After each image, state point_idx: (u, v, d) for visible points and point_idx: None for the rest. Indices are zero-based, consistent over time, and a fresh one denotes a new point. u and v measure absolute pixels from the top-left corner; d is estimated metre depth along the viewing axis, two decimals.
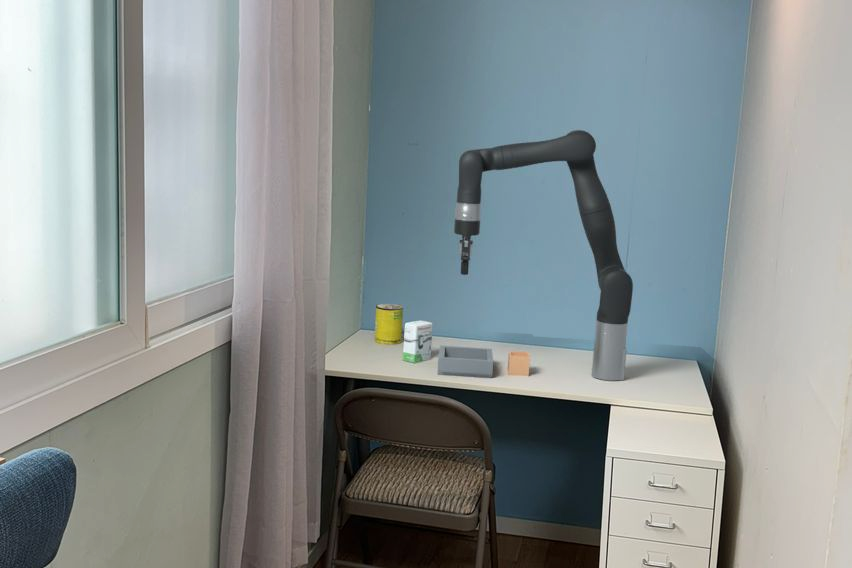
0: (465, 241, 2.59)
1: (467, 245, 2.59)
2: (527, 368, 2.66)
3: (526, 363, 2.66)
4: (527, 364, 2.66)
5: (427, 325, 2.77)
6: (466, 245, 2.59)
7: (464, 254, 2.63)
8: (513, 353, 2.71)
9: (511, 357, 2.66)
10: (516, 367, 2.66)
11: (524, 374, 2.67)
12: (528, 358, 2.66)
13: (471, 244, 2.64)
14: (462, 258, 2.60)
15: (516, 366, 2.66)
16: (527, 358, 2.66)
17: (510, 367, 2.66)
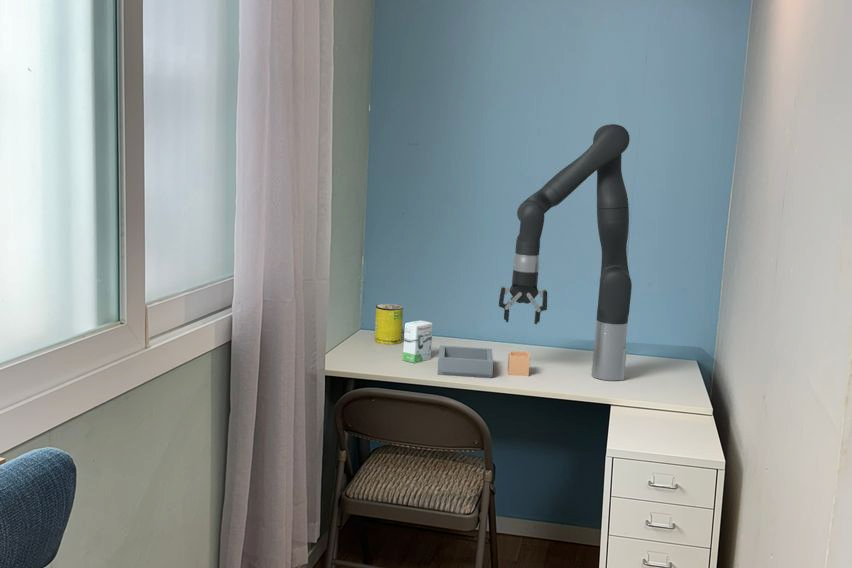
0: (546, 291, 2.65)
1: None
2: (527, 368, 2.66)
3: (526, 363, 2.66)
4: (527, 364, 2.66)
5: (427, 325, 2.77)
6: None
7: None
8: (513, 353, 2.71)
9: (511, 357, 2.66)
10: (516, 367, 2.66)
11: (524, 374, 2.67)
12: (528, 358, 2.66)
13: None
14: None
15: (516, 366, 2.66)
16: (527, 358, 2.66)
17: (510, 367, 2.66)
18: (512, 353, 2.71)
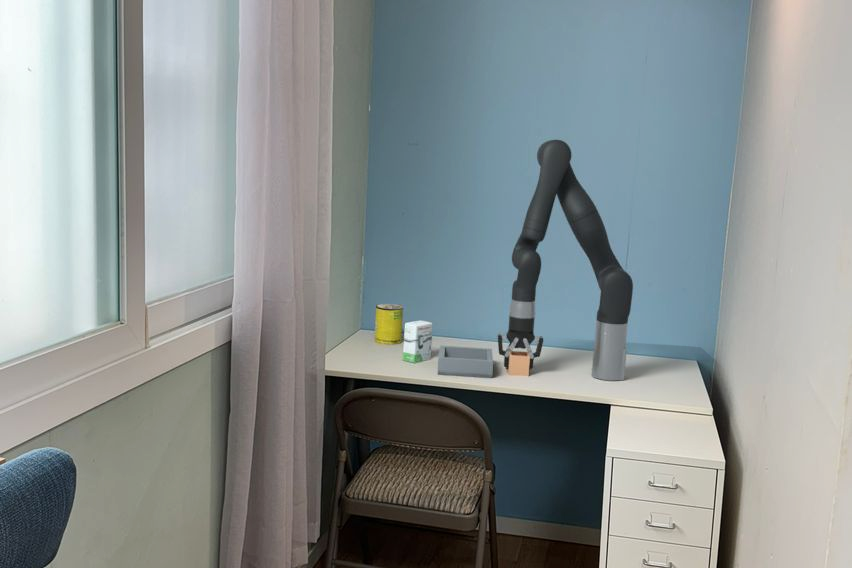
0: None
1: None
2: (527, 368, 2.66)
3: (526, 363, 2.66)
4: (527, 364, 2.66)
5: (427, 325, 2.77)
6: None
7: None
8: (513, 353, 2.71)
9: (511, 357, 2.66)
10: (516, 367, 2.66)
11: (524, 374, 2.67)
12: (528, 358, 2.66)
13: None
14: None
15: (516, 365, 2.66)
16: (527, 358, 2.66)
17: (510, 367, 2.66)
18: (512, 353, 2.71)
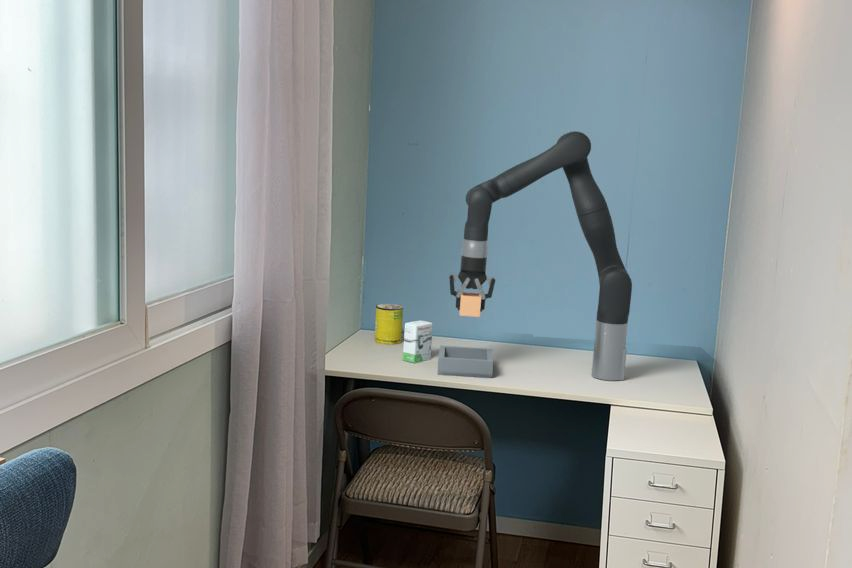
0: None
1: None
2: (478, 308, 2.64)
3: (477, 303, 2.64)
4: (478, 304, 2.64)
5: (427, 325, 2.77)
6: None
7: None
8: (465, 294, 2.69)
9: (462, 297, 2.64)
10: (467, 307, 2.64)
11: (475, 314, 2.64)
12: (479, 298, 2.64)
13: None
14: (491, 295, 2.66)
15: (467, 306, 2.64)
16: (478, 298, 2.64)
17: (461, 307, 2.64)
18: (464, 294, 2.69)
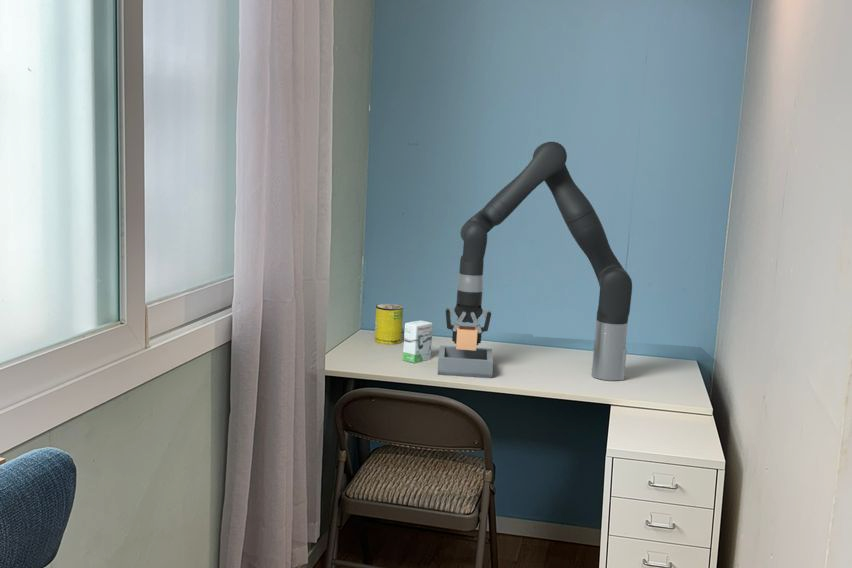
0: (490, 313, 2.67)
1: None
2: (475, 342, 2.66)
3: (474, 337, 2.66)
4: (474, 338, 2.66)
5: (427, 325, 2.77)
6: None
7: None
8: (462, 327, 2.71)
9: (459, 331, 2.65)
10: (464, 341, 2.66)
11: (472, 348, 2.66)
12: (476, 332, 2.65)
13: None
14: (487, 329, 2.67)
15: (463, 339, 2.66)
16: (475, 332, 2.65)
17: (458, 341, 2.66)
18: (461, 327, 2.71)
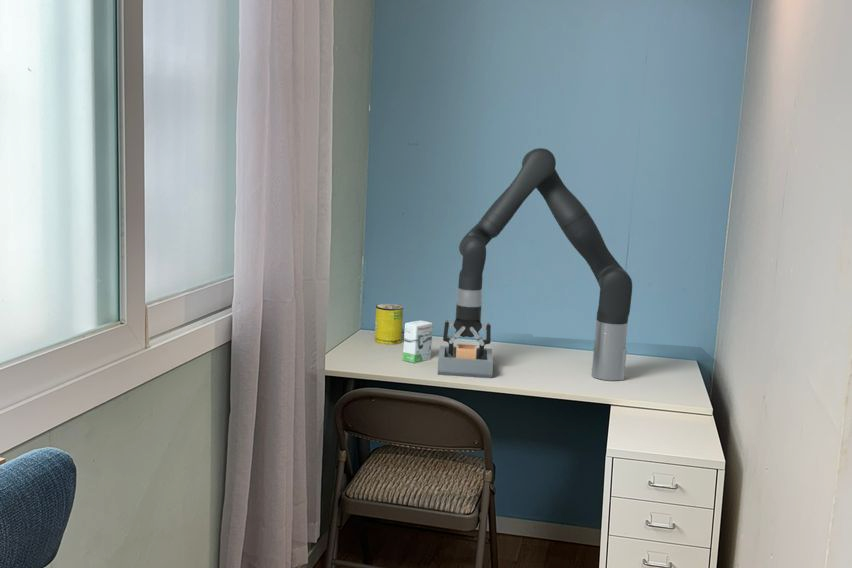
0: (490, 325, 2.67)
1: None
2: None
3: (473, 356, 2.66)
4: (474, 357, 2.66)
5: (427, 325, 2.77)
6: None
7: None
8: (461, 346, 2.72)
9: (458, 350, 2.66)
10: None
11: None
12: (475, 351, 2.66)
13: None
14: None
15: None
16: (474, 351, 2.66)
17: None
18: (460, 346, 2.72)
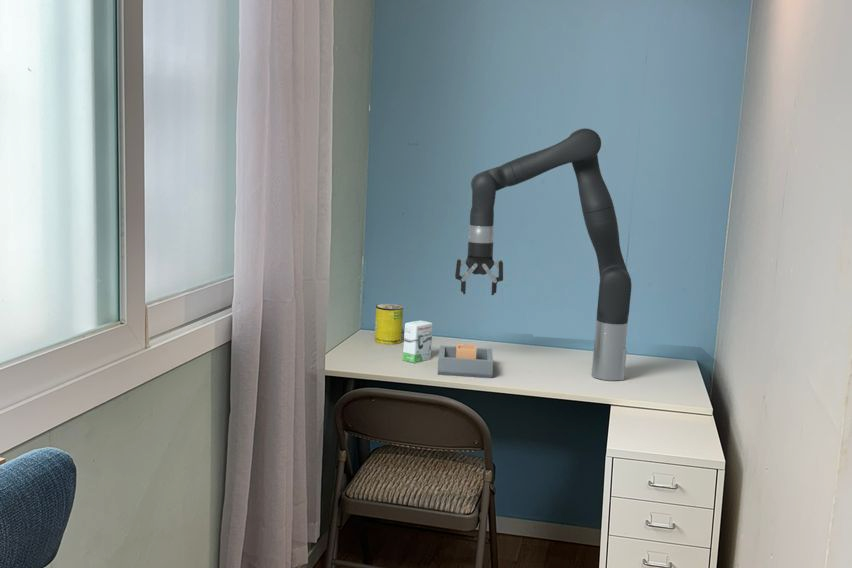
0: None
1: None
2: None
3: (473, 356, 2.66)
4: (474, 357, 2.66)
5: (427, 325, 2.77)
6: None
7: None
8: (461, 346, 2.72)
9: (458, 350, 2.66)
10: None
11: None
12: (475, 351, 2.66)
13: None
14: (502, 278, 2.67)
15: None
16: (474, 351, 2.66)
17: None
18: (460, 346, 2.72)
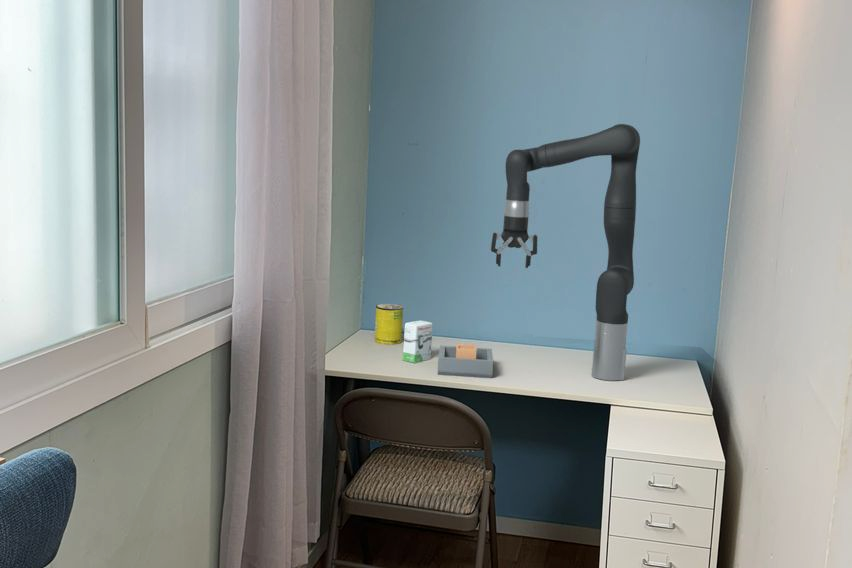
0: (536, 236, 2.76)
1: None
2: None
3: (473, 356, 2.66)
4: (474, 357, 2.66)
5: (427, 325, 2.77)
6: None
7: None
8: (461, 346, 2.72)
9: (458, 350, 2.66)
10: None
11: None
12: (475, 351, 2.66)
13: None
14: None
15: None
16: (474, 351, 2.66)
17: None
18: (460, 346, 2.72)
